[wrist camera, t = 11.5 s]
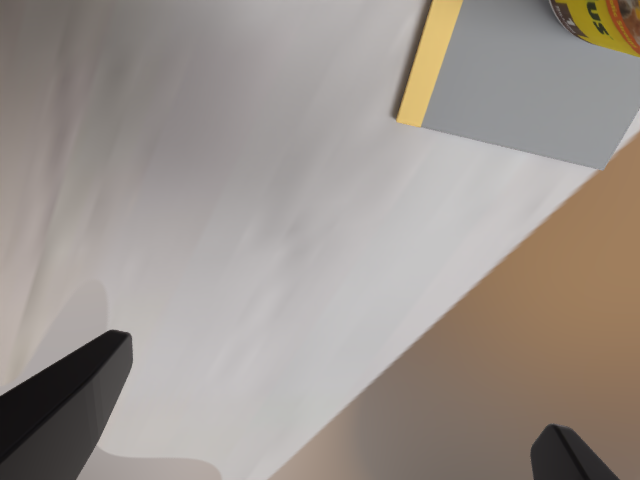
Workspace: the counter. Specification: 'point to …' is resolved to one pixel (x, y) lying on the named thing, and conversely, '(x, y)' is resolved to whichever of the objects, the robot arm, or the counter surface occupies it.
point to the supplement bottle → (602, 22)
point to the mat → (520, 82)
